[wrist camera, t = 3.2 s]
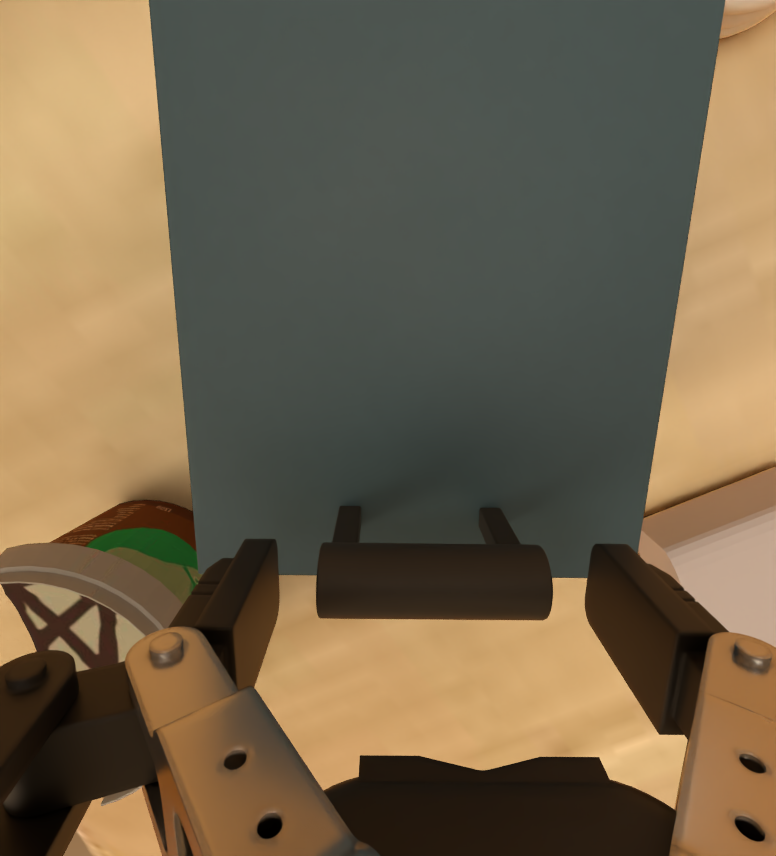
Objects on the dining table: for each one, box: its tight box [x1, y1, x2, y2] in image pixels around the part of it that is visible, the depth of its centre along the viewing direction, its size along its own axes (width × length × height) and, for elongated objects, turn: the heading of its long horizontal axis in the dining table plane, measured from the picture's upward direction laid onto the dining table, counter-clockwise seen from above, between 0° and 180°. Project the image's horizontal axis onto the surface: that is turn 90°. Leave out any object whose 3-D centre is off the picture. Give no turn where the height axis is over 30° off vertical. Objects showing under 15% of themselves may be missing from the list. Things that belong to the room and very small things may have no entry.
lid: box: [149, 0, 725, 620], centre depth 13 cm, size 16×15×6 cm
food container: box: [0, 500, 203, 806], centre depth 25 cm, size 12×6×10 cm, turn 17°
